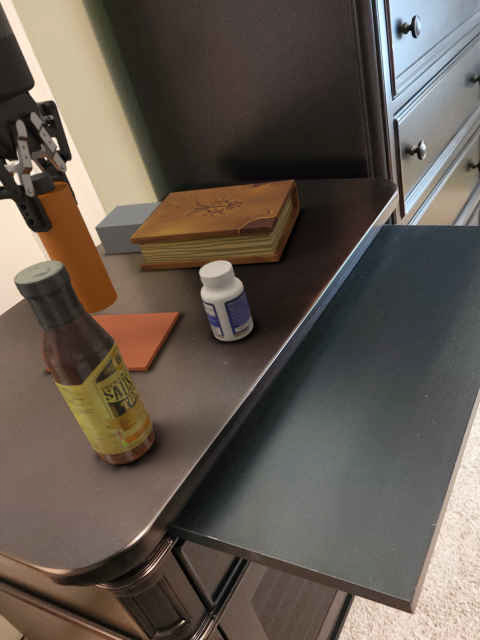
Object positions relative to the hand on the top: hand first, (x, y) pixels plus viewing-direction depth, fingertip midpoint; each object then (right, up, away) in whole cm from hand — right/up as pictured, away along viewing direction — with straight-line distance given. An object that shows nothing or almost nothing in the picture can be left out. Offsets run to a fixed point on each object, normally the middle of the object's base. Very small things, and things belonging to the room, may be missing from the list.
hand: (56, 218), depth 58 cm
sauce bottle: (+10, -25, -4) cm, 27 cm away
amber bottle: (+2, -8, +7) cm, 11 cm away
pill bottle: (+19, -11, +9) cm, 24 cm away
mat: (+3, -13, +11) cm, 17 cm away
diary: (+15, +7, +31) cm, 35 cm away
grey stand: (-2, +8, +36) cm, 37 cm away
